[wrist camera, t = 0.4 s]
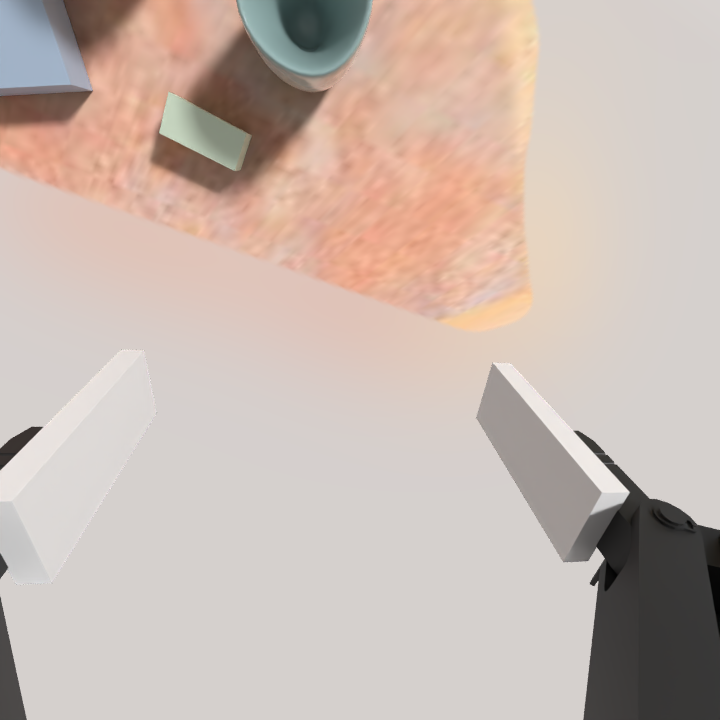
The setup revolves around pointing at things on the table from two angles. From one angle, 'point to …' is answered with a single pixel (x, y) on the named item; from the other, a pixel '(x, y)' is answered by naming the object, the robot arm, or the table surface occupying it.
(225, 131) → the sage brick
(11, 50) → the slab
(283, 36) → the cup
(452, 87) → the table surface
